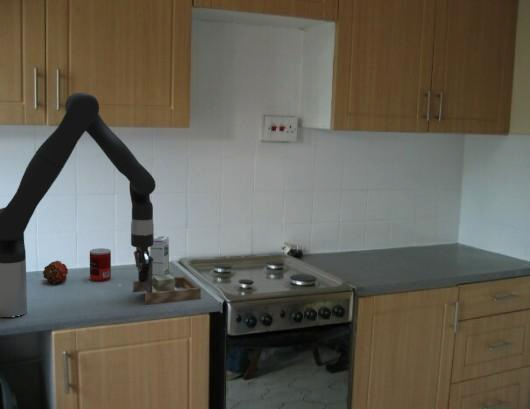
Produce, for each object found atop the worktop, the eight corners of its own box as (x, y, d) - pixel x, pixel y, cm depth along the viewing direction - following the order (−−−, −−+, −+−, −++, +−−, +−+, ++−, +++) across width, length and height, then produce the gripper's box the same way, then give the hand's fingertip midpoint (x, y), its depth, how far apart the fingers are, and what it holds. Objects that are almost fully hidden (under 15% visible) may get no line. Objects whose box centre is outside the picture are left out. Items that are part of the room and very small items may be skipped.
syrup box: (164, 276, 249) (164, 239, 246) (149, 274, 250) (149, 238, 248) (169, 272, 254) (169, 236, 252) (155, 271, 255) (155, 235, 253)
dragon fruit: (54, 291, 230) (53, 286, 241) (73, 276, 232) (72, 272, 244) (38, 272, 228) (39, 269, 240) (58, 257, 230) (58, 254, 242)
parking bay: (146, 305, 212) (146, 294, 211) (133, 292, 227) (133, 281, 226) (200, 299, 221) (200, 288, 220) (184, 286, 235) (184, 276, 234)
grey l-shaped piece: (149, 300, 216) (149, 258, 214) (142, 293, 224) (142, 252, 222) (179, 297, 221) (180, 255, 219) (171, 290, 229) (171, 249, 227)
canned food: (112, 276, 246) (112, 248, 244) (108, 282, 238) (108, 253, 236) (92, 275, 246) (92, 247, 244) (87, 281, 238) (87, 252, 236)
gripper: (126, 228, 220) (126, 277, 223) (136, 236, 209) (136, 287, 211) (147, 227, 224) (147, 275, 226) (158, 235, 212) (158, 285, 215)
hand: (142, 281), depth 219 cm, fingers closed
